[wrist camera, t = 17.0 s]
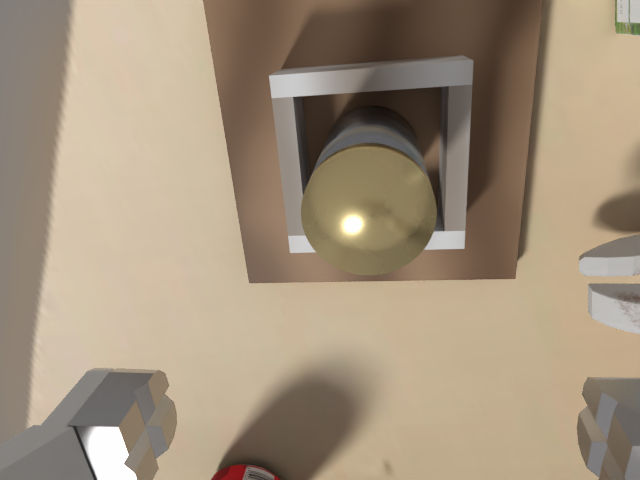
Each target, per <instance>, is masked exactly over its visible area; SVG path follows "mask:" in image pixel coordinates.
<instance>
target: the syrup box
mask: <svg viewBox="0 0 640 480" xmlns="http://www.w3.org/2000/svg"><path fill="white" fill-rule="evenodd" d="M615 26H616V33H618V34H624V35H636V36H640V0H616V10H615Z"/></svg>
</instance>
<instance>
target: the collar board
mask: <svg viewBox="0 0 640 480" xmlns="http://www.w3.org/2000/svg"><path fill="white" fill-rule="evenodd" d="M203 2H204V9H205V15H206V21H207V27H208V33H209V39H210V45H211V52H212V58H213V64H214V70H215V76H216V82H217V88H218V95H219V101H220V107H221V113H222V119H223V125H224V131H225V138H226V144H227V150H228V156H229V162H230V168H231V174H232V181H233V187H234V193H235V199H236V205H237V211H238V217H239V223H240V230H241V236H242V242H243V248H244V254H245V260H246V266H247V273H248V279H249V283H288V282H350V281H412V280H474V279H515V277H516V267H517V257H518V247H519V237H520V227H521V217H522V207H523V197H524V187H525V177H526V167H527V157H528V147H529V137H530V127H531V117H532V107H533V96H534V86H535V76H536V66H537V56H538V46H539V36H540V26H541V16H542V6H543V0H203ZM363 106H383V107H386V108H389V109H392V110H394V111H396V112H397V113H399V114H400V115H402V116H403V117H404V118H405V119H406V120H407V121H408V122H409V124H410V125H411V126H412V128H413V130H414V132H415V134H416V137H417V140H418V144H419V147H420V150H421V153H422V157H423V160H424V163H425V167H426V170H427V173H428V176H429V180H430V183H431V186H432V190H433V193H434V196H435V201H436V206H437V218H436V225H435V229H434V232H433V235H432V237H431V239H430V241H429V243H428V244H427V246H426V247H425V249H424V250H423V251H422V253H421V254H420V255H419V256H418V257H417V258H415V259H414V260H413V261H412V262H410V263H409V264H407V265H406V266H404V267H402V268H400V269H398V270H395V271H393V272H389V273H386V274H380V275H358V274H352V273H349V272H345V271H343V270H340V269H338V268H336V267H334V266H332V265H331V264H329V263H328V262H326V261H325V260H324V259H322V258H321V257H320V256H319V255H318V254H317V253H316V251H315V250H314V249H313V248H312V246H311V245H310V243H309V242H308V240H307V238H306V235H305V233H304V230H303V227H302V221H301V203H302V198H303V194H304V192H305V189H306V187H307V185H308V182H309V180H310V177H311V175H312V173H313V170H314V168H315V166H316V163H317V161H318V159H319V156H320V154H321V151H322V149H323V147H324V144H325V142H326V140H327V137H328V135H329V132H330V131H331V129H332V127H333V126H334V124H335V123H336V122H337V121H338V120H339V119H340V118H341V117H342V116H343V115H345V114H346V113H348V112H349V111H351V110H353V109H356V108H359V107H363Z"/></svg>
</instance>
